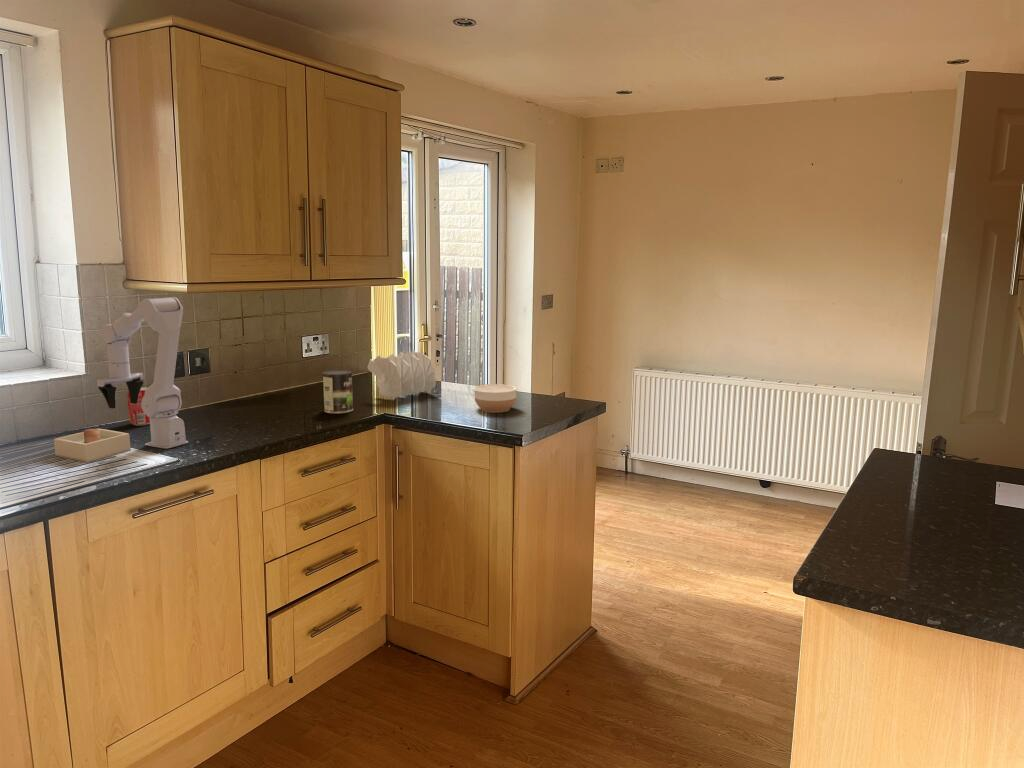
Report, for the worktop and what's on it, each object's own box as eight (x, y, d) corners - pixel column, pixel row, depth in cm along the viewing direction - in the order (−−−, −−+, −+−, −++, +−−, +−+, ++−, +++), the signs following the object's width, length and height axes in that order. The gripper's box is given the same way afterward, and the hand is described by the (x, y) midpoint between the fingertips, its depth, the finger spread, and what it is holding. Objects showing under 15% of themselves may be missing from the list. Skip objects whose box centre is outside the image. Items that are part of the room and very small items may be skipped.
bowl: (488, 402, 288) (488, 382, 286) (525, 407, 280) (525, 386, 278) (464, 410, 274) (464, 389, 273) (502, 416, 266) (502, 394, 265)
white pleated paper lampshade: (433, 402, 306) (388, 410, 286) (406, 379, 314) (360, 385, 295) (449, 364, 299) (403, 369, 279) (420, 341, 307) (374, 345, 288)
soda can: (147, 420, 257) (144, 385, 255) (157, 423, 253) (154, 388, 250) (126, 424, 252) (122, 388, 249) (135, 427, 247) (132, 391, 245)
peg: (102, 451, 218) (102, 431, 217) (87, 453, 215) (86, 433, 214) (97, 448, 221) (96, 428, 220) (82, 450, 218) (81, 430, 217)
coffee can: (357, 408, 277) (356, 370, 275) (346, 414, 267) (344, 375, 265) (331, 406, 279) (330, 369, 277) (319, 413, 269) (317, 373, 267)
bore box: (130, 450, 221) (129, 433, 220) (87, 462, 209) (85, 444, 208) (99, 444, 227) (98, 428, 226) (55, 455, 215) (53, 438, 214)
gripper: (131, 358, 242) (134, 400, 245) (88, 364, 229) (93, 408, 232) (146, 359, 239) (150, 402, 241) (104, 366, 226) (108, 411, 229)
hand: (123, 405), depth 236 cm, fingers open, 7 cm apart
